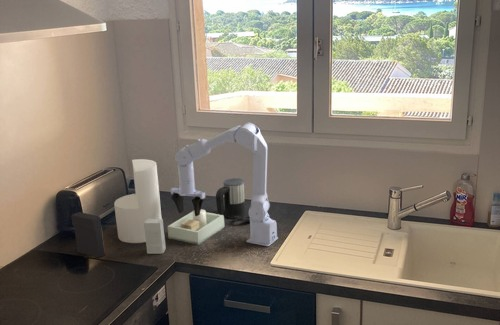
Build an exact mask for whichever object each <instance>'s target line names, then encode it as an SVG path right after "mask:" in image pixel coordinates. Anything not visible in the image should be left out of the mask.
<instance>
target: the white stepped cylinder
mask: <svg viewBox="0 0 500 325" xmlns="http://www.w3.org/2000/svg"><path fill="white" fill-rule="evenodd" d="M131 162H132V173H133V182H134V190H135V193H132V194H127V195H124V196H121V197H119V198H117V199H115V201H114V203H113V204H114V205H113V207H114V213H115V220H116V230H117V237H118V240H120V241H121V242H124V243H127V244H128V243H129V244H141V243H142V244H143V243H146V238H145V229H144V222H145V221H146V220H147V219H163V218H162V210H161V208H162V207H161V199H160V198H161V197H160V189H159V188H160V186H159V177H158V166H157V162H156V161H155V160H152V159H146V158H140V159H137V158H136V159H131Z"/></svg>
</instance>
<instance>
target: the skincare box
mask: <svg viewBox="0 0 500 325" xmlns="http://www.w3.org/2000/svg"><path fill="white" fill-rule="evenodd" d="M144 229H145V238H146V242H145V246H146V254H150V255H151V254H152V255H153V254H154V255H155V254H158V255H159V254H160V255H161V254H162V255H163V254H164V252H165V251H166V249H167V248H166V238H165V230H164V219H163V218H162V219H147V220H146V221H145V222H144Z"/></svg>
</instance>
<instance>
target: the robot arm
mask: <svg viewBox="0 0 500 325" xmlns="http://www.w3.org/2000/svg"><path fill="white" fill-rule="evenodd" d="M228 142H231V143H233V144H236V143H237V144H238V145H240V146H242V147H244V148H246V149H248V150H250V152H252V153H253V162H252V164H253V167H252V171H253V172H252V196H251V201H250V207H249V209H248V216H249V217H250V222H249V227H250V228H249V230H250V237H249V238H248V239H247V240H246V243H249V244H254V245H258V246H264V247H270V246H271V245H272V244H273V243H275V242H276V241H277V240H278V239H279V237H278V227H277V226H278V223H277V221H276V220H274V219H272V218H271V217H270V214H269V213H268V211H269V210H270V207H271V203H270V201H269V199H268V193H267V178H268V175H267V173H268V148H269V147H268V144H267V142H266V140H265V138H264V137H263V135H262V133H261V130H260V128H259V127H258V126H257V125H255V123H252V122H245V123H243V124H242V125H241V124H239V125H236V126H233V127H231V128H229V129H227V130H226V131H224V132H222V133H220V134H218V135H215V136H214V137H212V138H210V139H205V138H203V139H200V138H198V139H196V140H195V142H193V143H192V144H186V145H185V147H182V148H181V149H179V150H178V151H177V152H176V154H175V155H174V160H175V162H176V164H177V171H178V173H177V174H178V175H177V176H178V183H179V184H178V185H179V187H171V189H170V194H171V200H173V201H172V202H174V205H175V206H176V209H177V211H178V213H179V214H181V213H184V210H185V209H184V208H185V206H184V200H185V199H184V198H185V196H186V197H193V198H192V199H191V202H192V205H193V211H195V216H198V215H200V210H201V209H202V206H203V204H204V201H205V199H206V192H203V191H201V190H197V189H196V183H195V170H194V168H195V167H194V161H195V160H198V159H201V158H202V157H204V156H207V155H208V154H210V153H211V150H212V149H213V148H215V147H218V146H221V145H223V144H225V143H228Z"/></svg>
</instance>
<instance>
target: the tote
mask: <svg viewBox="0 0 500 325" xmlns="http://www.w3.org/2000/svg"><path fill="white" fill-rule="evenodd" d="M188 219H189V220H194V218H193V211H191V212H189V213H188V214H186V215H184V216H183V217H181V218H179V219H177V220H176V221H174V222H172V223H171V224H169V225H167V234H168V235H167V236H168V239H170V240H174V241H180V242H184V243H188V244H193V245H199V246H200V244H203V243H204V242H205V241H207V240H208V239H209V238H210V237H212V236H214V235H216V234H217V233H218V232H220V231H221V230H223V229H225V216H224V214H223V215H220V214H218V213H213V212H207V211H206V220H207V225H206V226H204V227H202V228H201V229H199V230H198V231H195V230H190V229H185V228H181V223H183V222H185V221H186V220H188Z"/></svg>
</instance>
